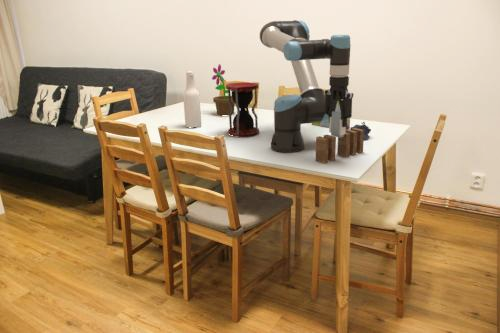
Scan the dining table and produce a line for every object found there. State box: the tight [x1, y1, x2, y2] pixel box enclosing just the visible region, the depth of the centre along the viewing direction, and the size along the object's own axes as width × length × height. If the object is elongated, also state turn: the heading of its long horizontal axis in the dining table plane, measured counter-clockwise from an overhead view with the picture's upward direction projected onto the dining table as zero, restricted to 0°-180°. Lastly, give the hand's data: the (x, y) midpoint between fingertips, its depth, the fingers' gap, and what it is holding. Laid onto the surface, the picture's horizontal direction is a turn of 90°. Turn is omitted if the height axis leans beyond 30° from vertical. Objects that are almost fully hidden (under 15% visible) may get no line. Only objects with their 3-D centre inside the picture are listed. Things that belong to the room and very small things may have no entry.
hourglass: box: [225, 81, 260, 138], centre depth 223 cm, size 16×16×25 cm
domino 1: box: [315, 136, 329, 164], centre depth 178 cm, size 2×5×10 cm, turn 35°
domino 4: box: [336, 132, 350, 158], centre depth 185 cm, size 2×5×10 cm, turn 35°
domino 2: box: [323, 134, 337, 162], centre depth 180 cm, size 2×5×10 cm, turn 35°
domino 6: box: [352, 128, 365, 154], centre depth 190 cm, size 2×5×10 cm, turn 35°
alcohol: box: [182, 70, 202, 129], centre depth 239 cm, size 9×9×30 cm
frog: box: [349, 121, 372, 141], centre depth 211 cm, size 10×12×8 cm
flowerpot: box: [211, 64, 236, 116], centre depth 267 cm, size 14×14×30 cm
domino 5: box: [346, 129, 357, 156], centre depth 187 cm, size 2×5×10 cm, turn 35°
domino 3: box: [330, 111, 344, 138], centre depth 180 cm, size 2×5×10 cm, turn 35°
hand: (337, 133), depth 181 cm, fingers closed on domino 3, 5 cm apart
